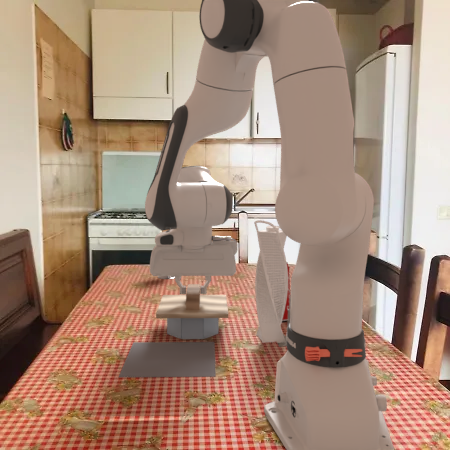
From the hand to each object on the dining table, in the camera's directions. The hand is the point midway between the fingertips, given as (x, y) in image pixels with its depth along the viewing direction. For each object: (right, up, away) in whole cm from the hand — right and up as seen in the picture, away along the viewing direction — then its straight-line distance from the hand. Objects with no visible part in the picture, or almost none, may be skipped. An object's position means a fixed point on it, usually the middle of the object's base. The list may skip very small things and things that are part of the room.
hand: (193, 293), depth 114 cm
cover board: (0, -3, 0) cm, 3 cm away
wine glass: (-13, -3, +59) cm, 61 cm away
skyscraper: (+18, -11, -4) cm, 21 cm away
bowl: (0, -9, +1) cm, 9 cm away
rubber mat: (-3, -11, -16) cm, 20 cm away
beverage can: (+22, -8, +12) cm, 26 cm away
